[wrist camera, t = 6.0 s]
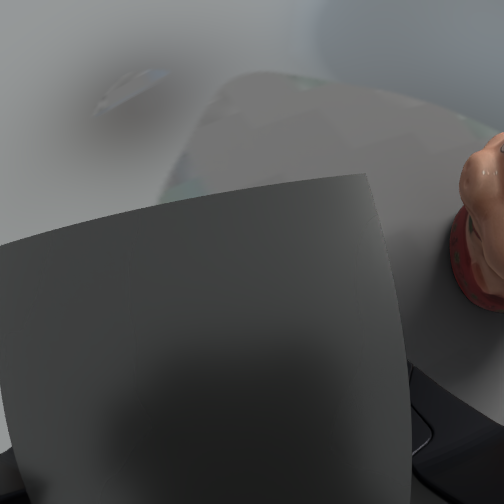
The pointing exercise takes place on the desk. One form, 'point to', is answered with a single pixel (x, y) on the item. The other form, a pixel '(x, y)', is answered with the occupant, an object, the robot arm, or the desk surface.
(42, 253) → the grey square bar
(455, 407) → the robot arm
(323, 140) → the desk surface
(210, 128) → the desk surface
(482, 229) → the decorative planter
